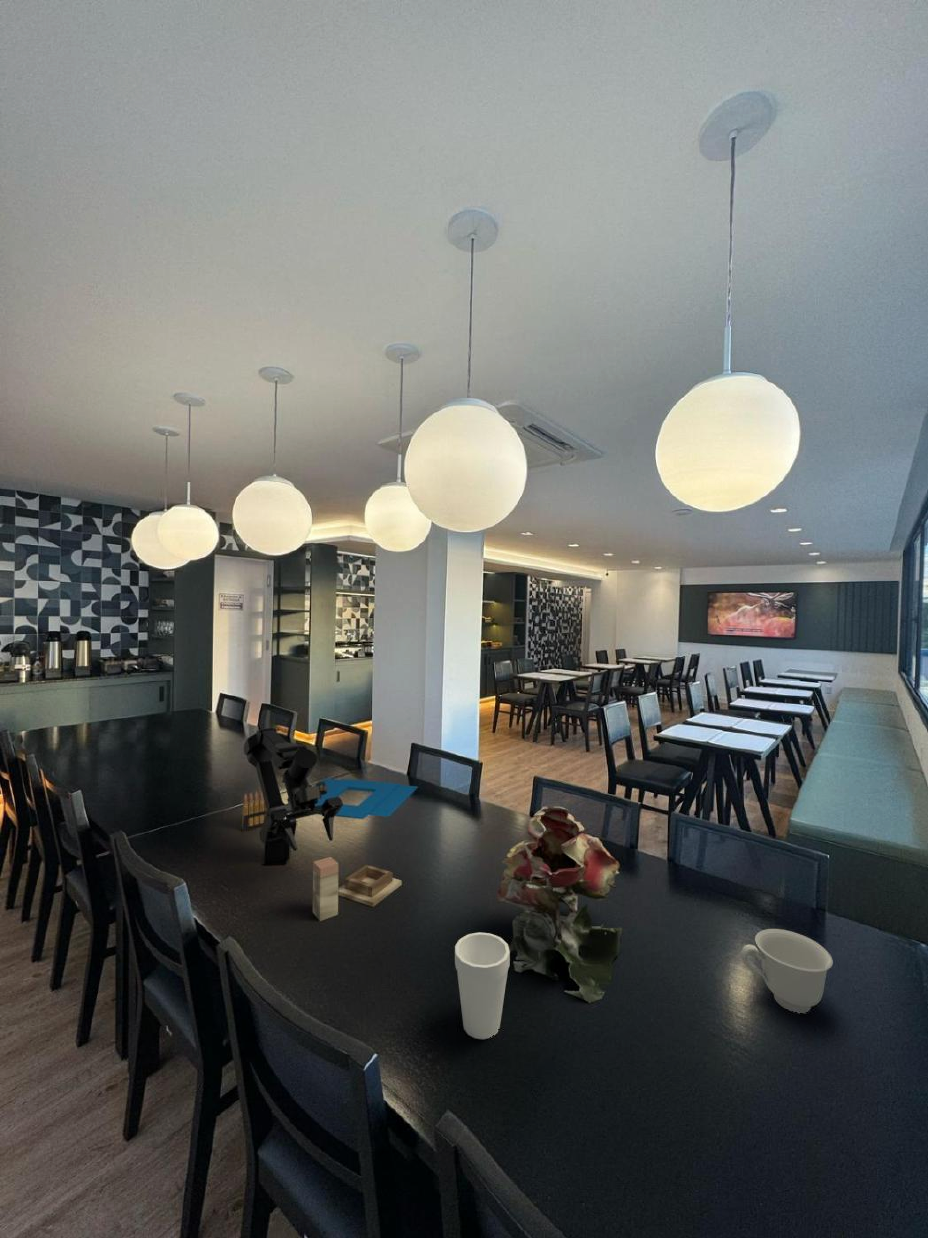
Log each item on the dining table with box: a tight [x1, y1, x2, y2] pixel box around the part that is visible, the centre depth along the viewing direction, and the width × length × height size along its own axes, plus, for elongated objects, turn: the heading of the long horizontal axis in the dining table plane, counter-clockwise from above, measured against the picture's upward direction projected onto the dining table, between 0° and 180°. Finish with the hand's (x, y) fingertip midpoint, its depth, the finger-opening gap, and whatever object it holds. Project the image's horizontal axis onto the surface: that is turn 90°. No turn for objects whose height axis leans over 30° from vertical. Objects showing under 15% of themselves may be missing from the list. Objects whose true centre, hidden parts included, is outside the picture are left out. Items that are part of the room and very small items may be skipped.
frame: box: [286, 778, 419, 820], centre depth 199 cm, size 42×36×2 cm
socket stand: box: [338, 864, 403, 908], centre depth 132 cm, size 12×12×4 cm
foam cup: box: [454, 931, 511, 1040], centre depth 89 cm, size 10×9×13 cm
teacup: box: [740, 928, 834, 1014], centre depth 95 cm, size 12×15×10 cm
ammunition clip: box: [240, 789, 267, 832], centre depth 171 cm, size 11×2×12 cm, turn 131°
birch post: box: [312, 856, 339, 922], centre depth 121 cm, size 4×4×12 cm
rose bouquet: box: [497, 806, 623, 1004], centre depth 110 cm, size 26×29×30 cm
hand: (314, 845), depth 127 cm, fingers open, 9 cm apart
